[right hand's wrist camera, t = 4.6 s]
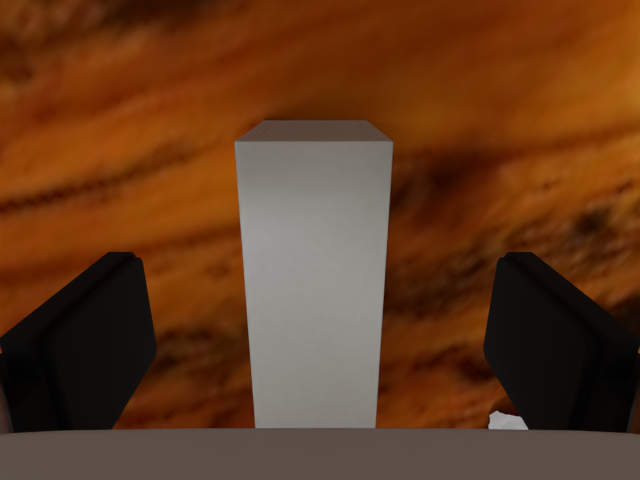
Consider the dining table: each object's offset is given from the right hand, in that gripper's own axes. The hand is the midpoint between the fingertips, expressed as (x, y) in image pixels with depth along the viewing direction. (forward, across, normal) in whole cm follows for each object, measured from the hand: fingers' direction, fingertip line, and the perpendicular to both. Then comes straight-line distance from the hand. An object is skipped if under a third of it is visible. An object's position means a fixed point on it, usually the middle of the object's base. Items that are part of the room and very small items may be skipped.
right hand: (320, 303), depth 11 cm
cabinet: (+17, 0, -5) cm, 18 cm away
